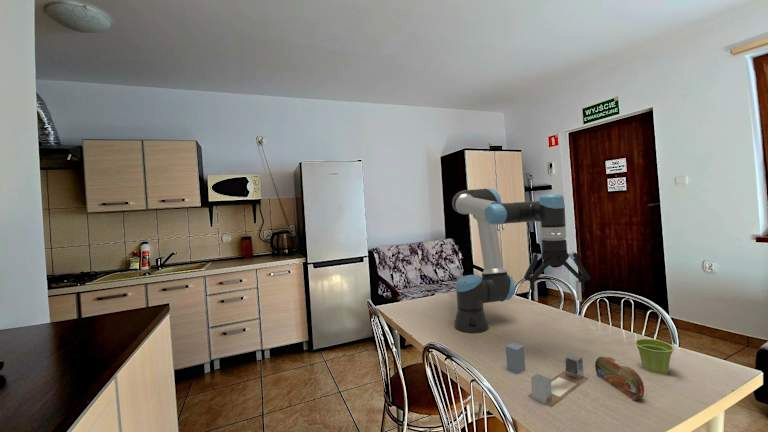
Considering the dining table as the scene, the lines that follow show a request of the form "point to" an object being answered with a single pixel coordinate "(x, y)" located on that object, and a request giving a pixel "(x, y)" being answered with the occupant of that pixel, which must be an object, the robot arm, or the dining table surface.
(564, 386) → the brown flat board
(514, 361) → the block
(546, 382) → the near end finger
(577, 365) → the far end finger
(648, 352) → the plant pot
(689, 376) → the dining table surface
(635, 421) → the dining table surface
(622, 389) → the tin
